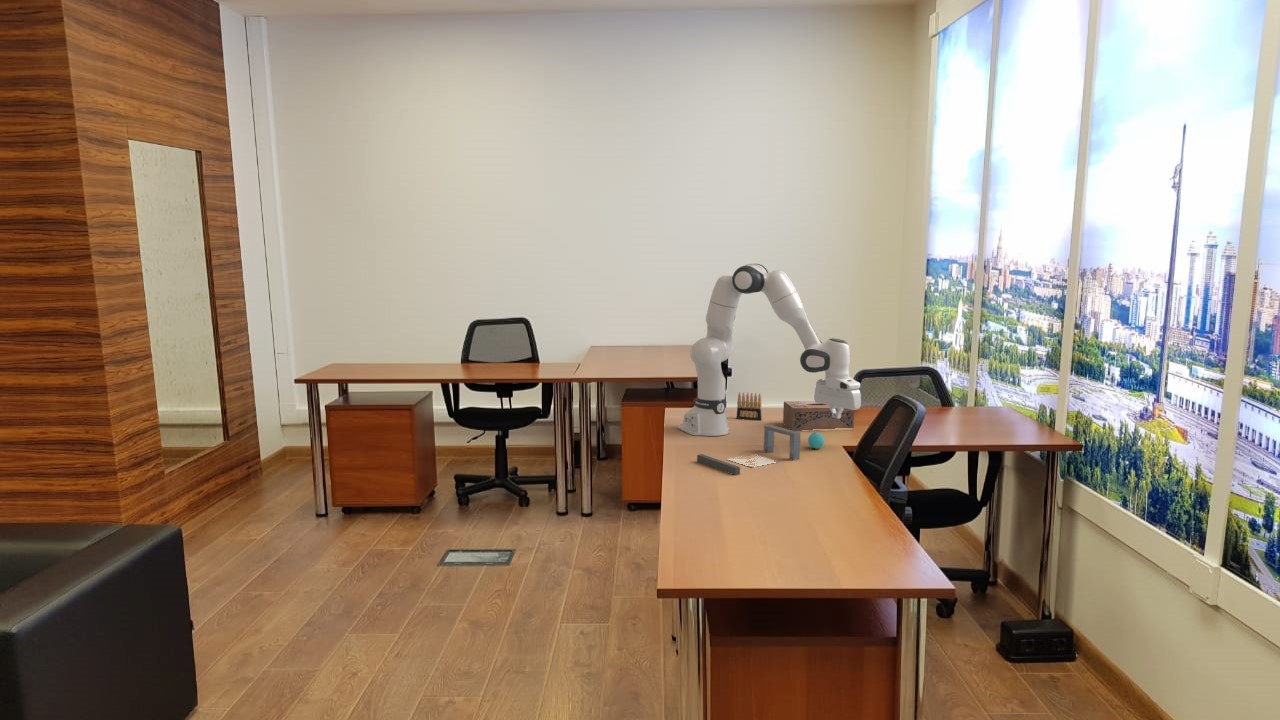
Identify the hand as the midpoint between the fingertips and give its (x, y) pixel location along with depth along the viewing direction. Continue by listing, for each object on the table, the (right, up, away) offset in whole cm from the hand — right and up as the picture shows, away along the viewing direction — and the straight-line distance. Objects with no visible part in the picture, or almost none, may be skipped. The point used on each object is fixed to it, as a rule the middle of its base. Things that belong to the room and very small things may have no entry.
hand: (836, 417), depth 309 cm
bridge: (-23, -13, -14) cm, 30 cm away
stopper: (-48, -15, -31) cm, 59 cm away
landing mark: (-35, -14, -22) cm, 43 cm away
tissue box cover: (0, -7, +32) cm, 33 cm away
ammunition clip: (-27, -4, +46) cm, 54 cm away
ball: (-9, -8, -4) cm, 13 cm away
